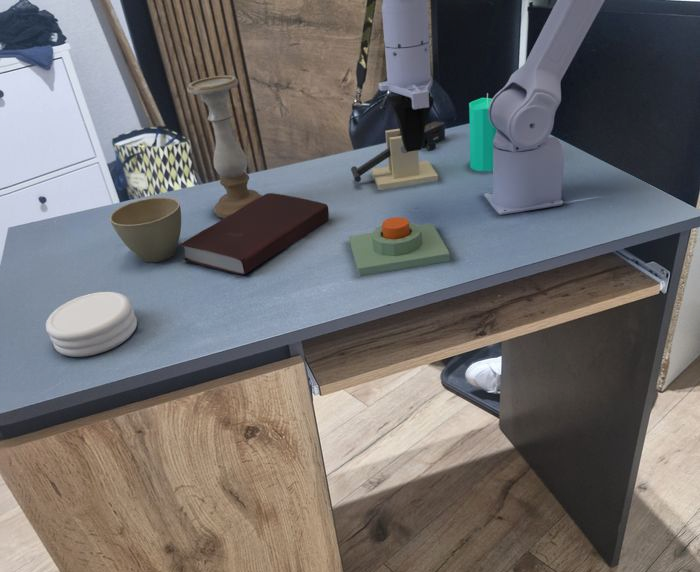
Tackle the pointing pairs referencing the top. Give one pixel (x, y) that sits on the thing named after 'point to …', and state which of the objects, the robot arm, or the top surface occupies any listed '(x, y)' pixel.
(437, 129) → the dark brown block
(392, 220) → the button
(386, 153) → the lever
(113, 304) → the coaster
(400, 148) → the stand
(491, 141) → the candle
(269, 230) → the book
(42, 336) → the top surface
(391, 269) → the panel
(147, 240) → the flower pot
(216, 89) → the candle holder
